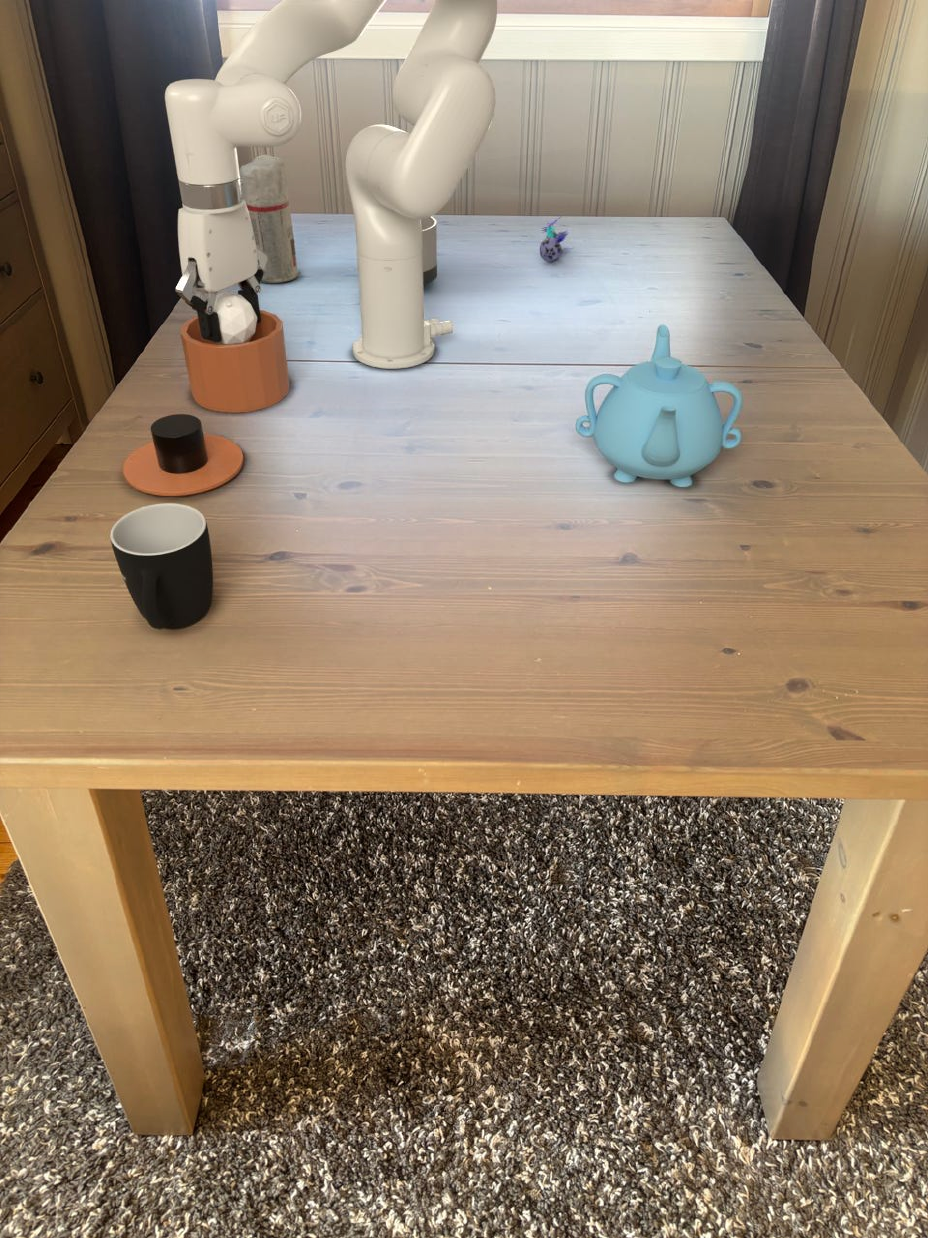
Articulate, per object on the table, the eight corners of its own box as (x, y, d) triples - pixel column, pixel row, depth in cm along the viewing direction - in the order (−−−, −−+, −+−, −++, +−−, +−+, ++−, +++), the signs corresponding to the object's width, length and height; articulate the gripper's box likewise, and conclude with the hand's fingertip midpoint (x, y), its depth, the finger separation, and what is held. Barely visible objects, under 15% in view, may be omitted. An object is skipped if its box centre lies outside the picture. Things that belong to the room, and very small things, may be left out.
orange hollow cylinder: (271, 363, 142) (263, 301, 136) (303, 400, 133) (296, 335, 127) (181, 381, 137) (169, 318, 131) (208, 420, 128) (196, 354, 122)
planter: (450, 279, 171) (450, 218, 164) (410, 300, 162) (408, 238, 156) (393, 265, 176) (391, 206, 169) (351, 286, 167) (347, 225, 161)
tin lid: (224, 431, 125) (217, 389, 122) (259, 482, 116) (253, 437, 112) (113, 456, 120) (101, 413, 116) (140, 512, 110) (128, 466, 106)
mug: (143, 584, 99) (122, 502, 93) (229, 583, 100) (213, 501, 93) (115, 660, 90) (89, 575, 84) (209, 658, 90) (190, 574, 84)
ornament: (268, 335, 133) (267, 303, 125) (231, 367, 131) (228, 337, 123) (231, 302, 133) (229, 268, 125) (193, 334, 131) (188, 301, 123)
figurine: (536, 221, 184) (531, 243, 175) (563, 207, 181) (559, 228, 172) (551, 251, 187) (546, 274, 178) (578, 238, 185) (574, 260, 176)
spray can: (290, 286, 167) (276, 165, 154) (246, 283, 168) (229, 162, 156) (305, 270, 173) (294, 152, 161) (263, 267, 175) (248, 149, 162)
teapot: (650, 517, 110) (668, 408, 101) (553, 446, 123) (562, 344, 114) (751, 481, 117) (776, 375, 108) (649, 417, 130) (664, 318, 121)
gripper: (236, 173, 125) (253, 304, 136) (137, 204, 114) (165, 345, 125) (280, 182, 122) (294, 315, 133) (183, 215, 111) (207, 358, 122)
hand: (231, 329), depth 129 cm, fingers closed on ornament, 7 cm apart
